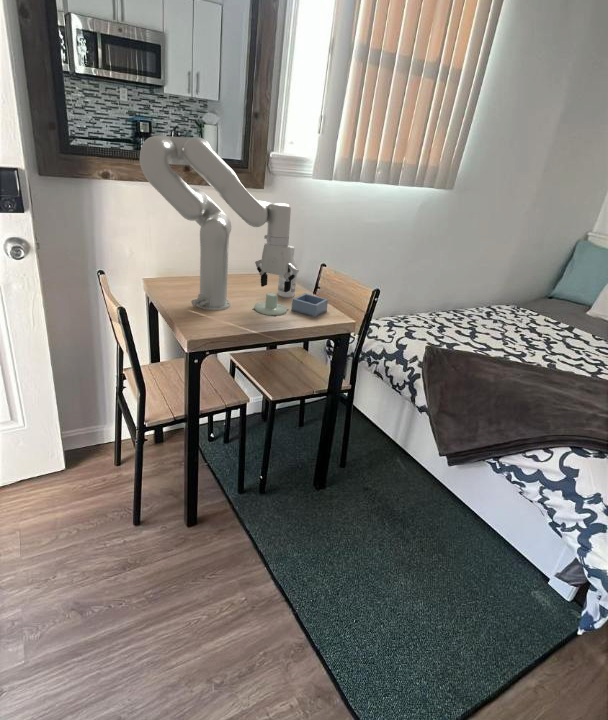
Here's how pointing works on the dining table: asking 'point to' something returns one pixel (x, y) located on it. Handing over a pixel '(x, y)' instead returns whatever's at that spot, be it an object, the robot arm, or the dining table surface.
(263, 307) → the lid
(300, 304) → the dish
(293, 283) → the bath foam
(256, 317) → the dining table surface
